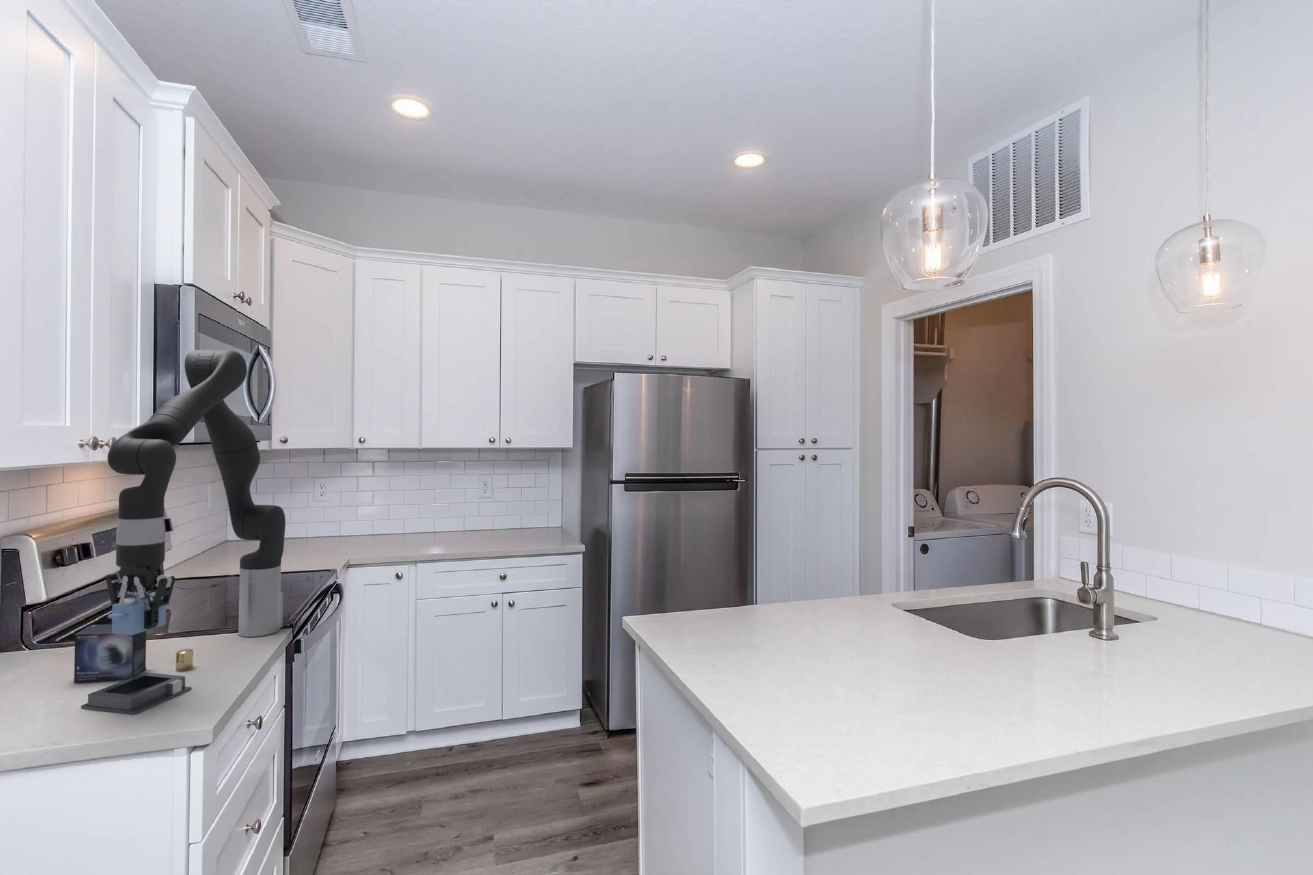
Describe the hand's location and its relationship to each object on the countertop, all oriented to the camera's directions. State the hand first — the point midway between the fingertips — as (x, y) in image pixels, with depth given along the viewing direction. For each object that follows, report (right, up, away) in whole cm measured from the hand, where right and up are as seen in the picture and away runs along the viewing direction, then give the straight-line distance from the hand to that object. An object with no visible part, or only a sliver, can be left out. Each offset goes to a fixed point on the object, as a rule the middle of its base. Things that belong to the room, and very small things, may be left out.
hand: (139, 626), depth 127 cm
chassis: (0, -14, 0) cm, 14 cm away
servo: (0, 0, 0) cm, 0 cm away
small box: (-15, -14, +11) cm, 23 cm away
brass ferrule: (-3, -14, +16) cm, 21 cm away
